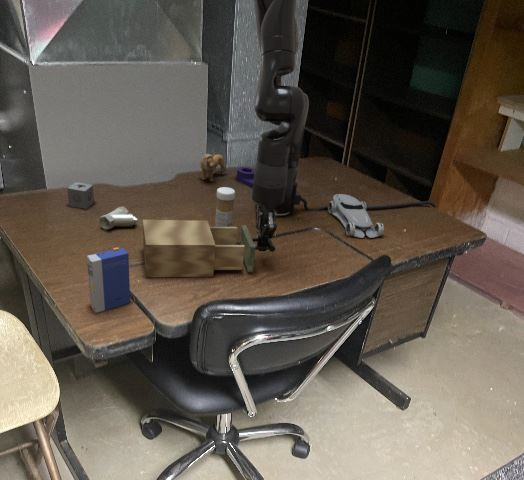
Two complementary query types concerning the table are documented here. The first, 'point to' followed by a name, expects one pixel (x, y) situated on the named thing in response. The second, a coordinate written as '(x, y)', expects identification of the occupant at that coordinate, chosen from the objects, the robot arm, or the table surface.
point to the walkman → (108, 279)
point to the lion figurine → (211, 165)
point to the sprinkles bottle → (224, 207)
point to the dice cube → (80, 195)
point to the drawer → (235, 248)
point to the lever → (245, 175)
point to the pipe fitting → (117, 219)
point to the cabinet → (178, 248)
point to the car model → (354, 216)
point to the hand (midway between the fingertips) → (261, 249)
